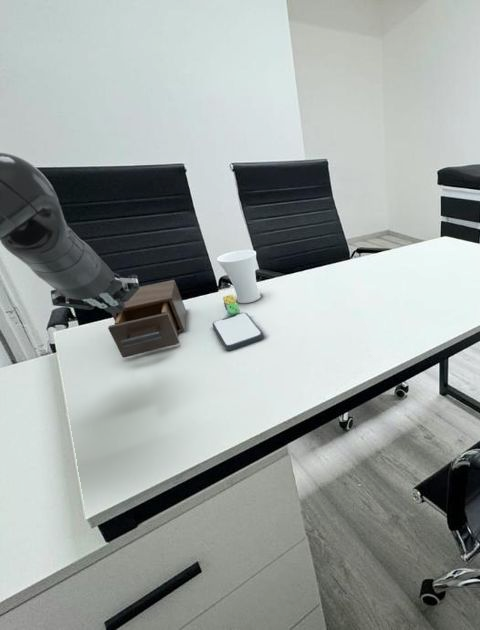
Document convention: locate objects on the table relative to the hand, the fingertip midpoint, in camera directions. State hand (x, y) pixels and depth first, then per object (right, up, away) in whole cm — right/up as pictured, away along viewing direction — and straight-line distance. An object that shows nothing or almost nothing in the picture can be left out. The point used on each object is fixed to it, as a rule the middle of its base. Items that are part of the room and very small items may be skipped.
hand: (117, 308), depth 74 cm
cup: (+7, +3, +41) cm, 42 cm away
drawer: (-6, -8, +19) cm, 21 cm away
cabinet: (-11, -4, +28) cm, 30 cm away
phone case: (+13, -6, +22) cm, 26 cm away
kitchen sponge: (+8, -2, +31) cm, 32 cm away
